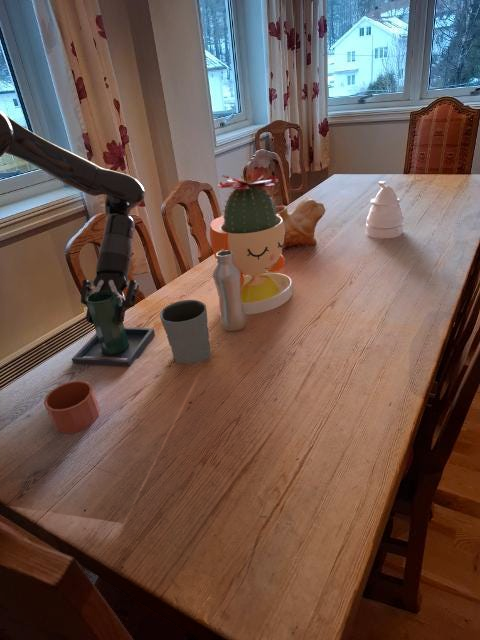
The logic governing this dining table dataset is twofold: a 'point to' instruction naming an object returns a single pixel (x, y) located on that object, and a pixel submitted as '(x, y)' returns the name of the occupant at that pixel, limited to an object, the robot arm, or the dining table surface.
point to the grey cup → (187, 331)
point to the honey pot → (385, 214)
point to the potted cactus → (253, 241)
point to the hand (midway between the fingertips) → (104, 323)
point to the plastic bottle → (229, 292)
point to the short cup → (72, 406)
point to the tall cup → (107, 322)
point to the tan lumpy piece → (301, 222)
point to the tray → (137, 344)
